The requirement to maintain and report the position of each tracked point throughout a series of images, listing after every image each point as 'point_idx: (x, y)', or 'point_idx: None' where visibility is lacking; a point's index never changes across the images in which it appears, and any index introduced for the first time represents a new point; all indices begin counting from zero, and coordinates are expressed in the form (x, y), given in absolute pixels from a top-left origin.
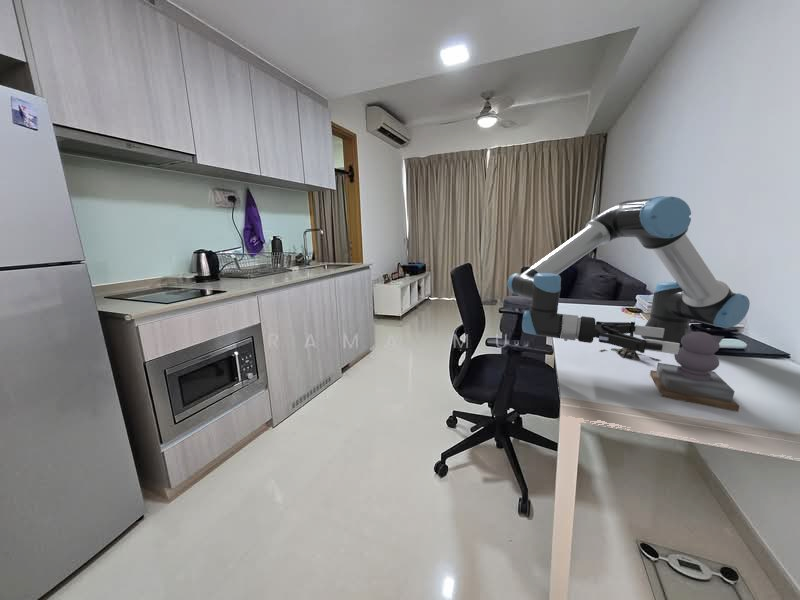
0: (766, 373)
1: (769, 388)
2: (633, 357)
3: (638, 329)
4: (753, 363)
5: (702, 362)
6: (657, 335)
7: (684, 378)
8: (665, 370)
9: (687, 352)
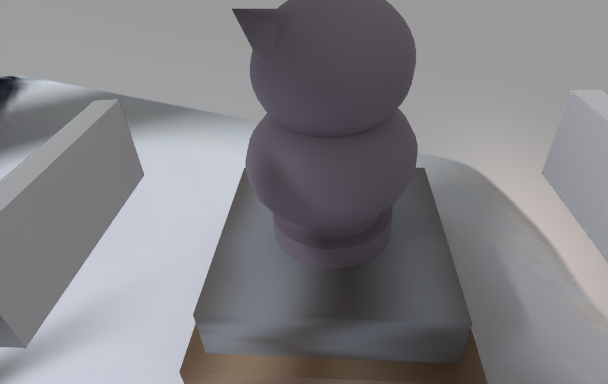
0: None
1: (211, 132)
2: None
3: (10, 267)
4: (45, 115)
5: (416, 142)
6: (121, 182)
7: (395, 259)
8: (318, 308)
9: (375, 143)
